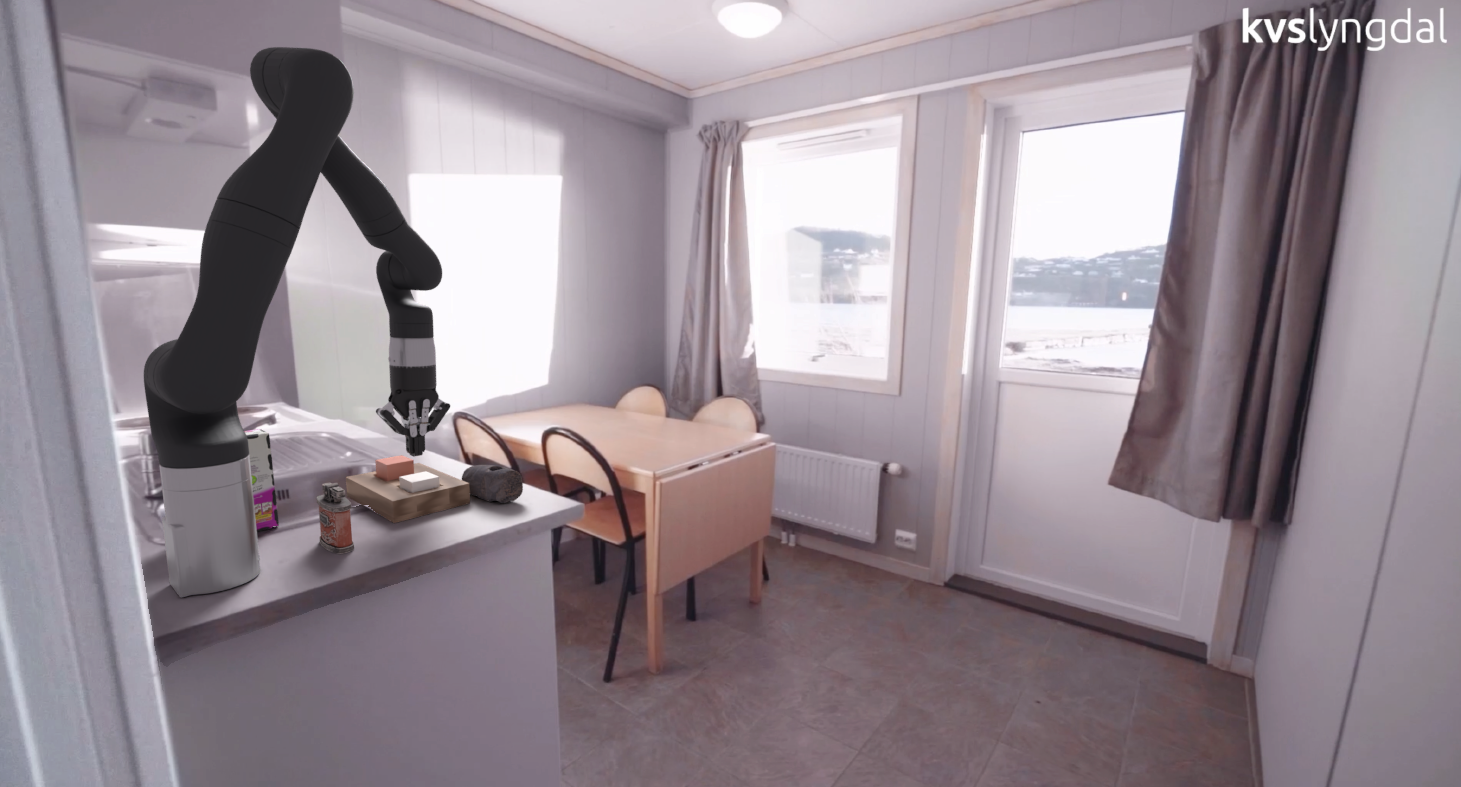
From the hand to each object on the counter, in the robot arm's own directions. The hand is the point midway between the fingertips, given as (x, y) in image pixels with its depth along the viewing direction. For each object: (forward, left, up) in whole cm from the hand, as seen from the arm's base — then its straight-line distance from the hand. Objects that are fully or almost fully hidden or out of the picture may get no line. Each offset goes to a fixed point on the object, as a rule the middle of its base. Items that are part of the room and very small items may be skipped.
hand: (416, 455), depth 114 cm
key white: (0, 0, -8) cm, 8 cm away
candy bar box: (-26, +9, -10) cm, 29 cm away
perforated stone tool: (+11, -5, -10) cm, 16 cm away
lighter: (-17, -8, -10) cm, 21 cm away
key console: (0, +5, -10) cm, 11 cm away
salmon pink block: (0, +10, -7) cm, 12 cm away
